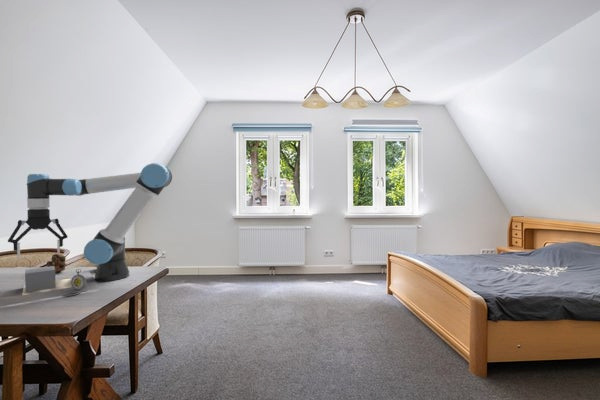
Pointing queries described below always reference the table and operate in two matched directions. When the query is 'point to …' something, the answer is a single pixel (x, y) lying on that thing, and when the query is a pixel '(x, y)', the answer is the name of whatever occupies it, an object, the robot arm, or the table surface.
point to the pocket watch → (78, 280)
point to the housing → (40, 278)
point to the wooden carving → (57, 262)
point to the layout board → (59, 285)
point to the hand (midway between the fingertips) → (39, 256)
